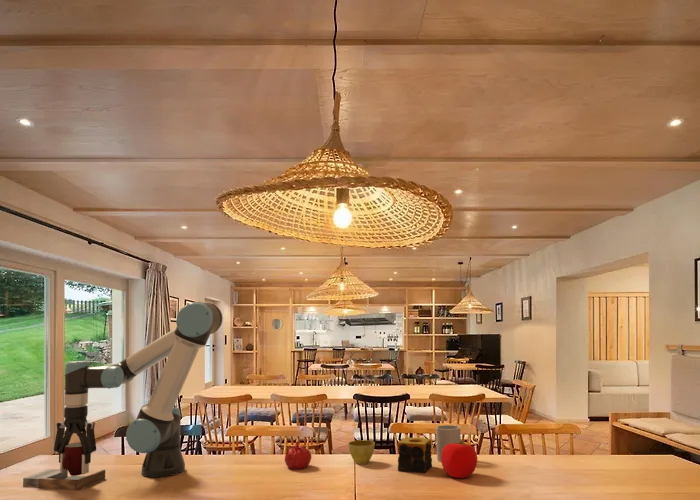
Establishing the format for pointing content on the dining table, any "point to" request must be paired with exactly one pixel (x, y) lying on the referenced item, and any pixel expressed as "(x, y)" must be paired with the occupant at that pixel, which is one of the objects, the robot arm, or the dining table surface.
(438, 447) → the cup
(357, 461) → the flower pot
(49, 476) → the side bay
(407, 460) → the candle
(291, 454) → the pomegranate
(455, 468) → the tomato
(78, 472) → the mug
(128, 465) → the dining table surface
